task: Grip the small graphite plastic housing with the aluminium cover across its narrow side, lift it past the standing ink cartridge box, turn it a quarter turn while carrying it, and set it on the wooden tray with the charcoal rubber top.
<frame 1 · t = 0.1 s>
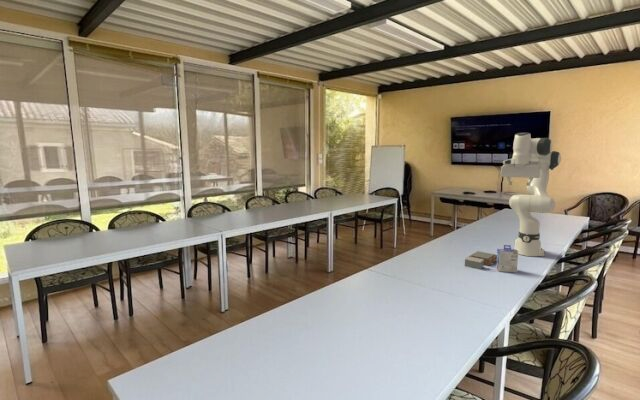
hand: (519, 185, 201), 48 cm above the table, tool pointing down, fingers open, 8 cm apart
wooden tray: (482, 261, 216), on the table
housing: (473, 267, 206), on the table
ink cartridge box: (506, 270, 199), on the table
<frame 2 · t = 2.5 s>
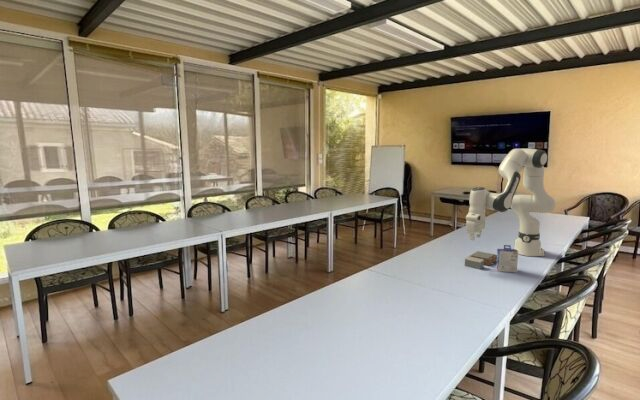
hand: (475, 238, 203), 17 cm above the table, tool pointing down, fingers open, 8 cm apart
nothing on the table moved.
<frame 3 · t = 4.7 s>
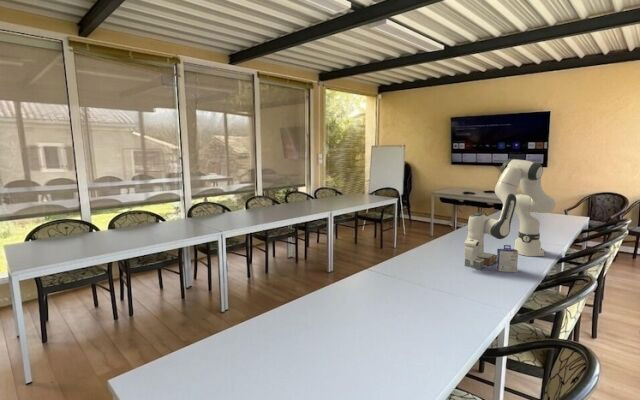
hand: (474, 263, 205), 2 cm above the table, tool pointing down, fingers closed on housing, 5 cm apart
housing: (473, 266, 206), on the table, touching gripper
everything else where it was.
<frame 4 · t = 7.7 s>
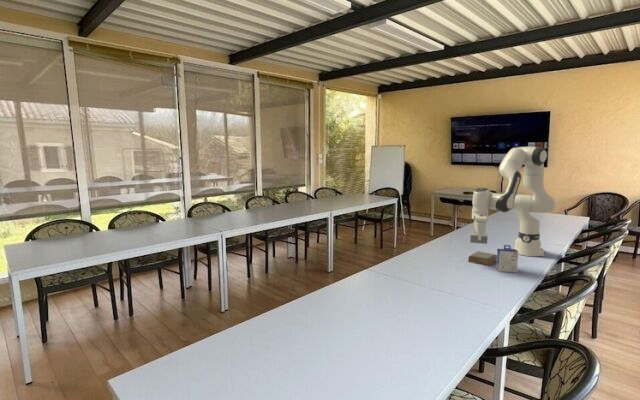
hand: (478, 238, 206), 16 cm above the table, tool pointing down, fingers closed on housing, 5 cm apart
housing: (478, 242, 207), point 14 cm above the table, touching gripper
everything else where it was.
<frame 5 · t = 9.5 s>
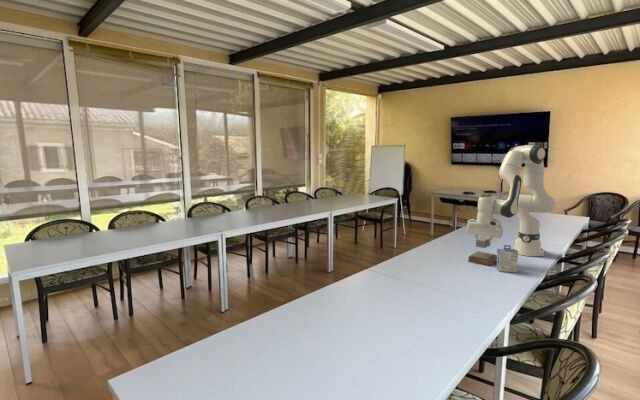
hand: (483, 242, 214), 12 cm above the table, tool pointing down, fingers closed on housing, 5 cm apart
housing: (483, 246, 214), point 10 cm above the table, touching gripper
everything else where it was.
when the fingers open (8 cm above the table, at t = 11.0 s): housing drops 2 cm, resting on wooden tray.
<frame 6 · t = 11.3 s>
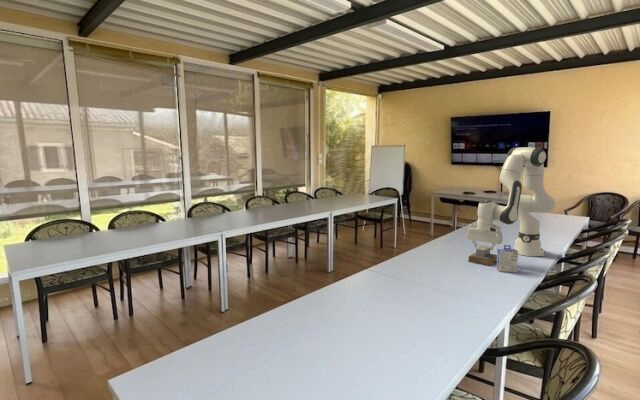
hand: (483, 248, 214), 8 cm above the table, tool pointing down, fingers open, 8 cm apart
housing: (483, 254, 215), point 4 cm above the table, touching wooden tray
everything else where it was.
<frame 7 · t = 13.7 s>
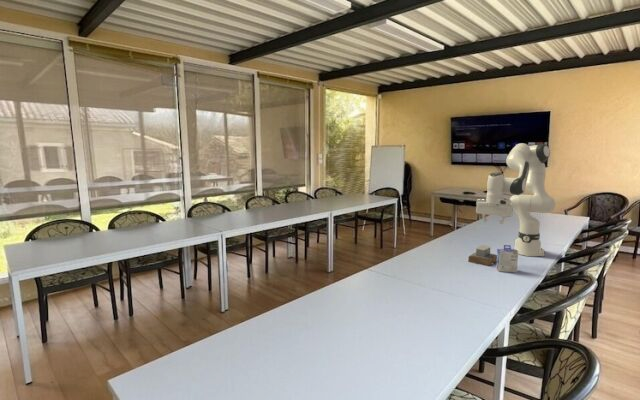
hand: (493, 222, 210), 25 cm above the table, tool pointing down, fingers open, 8 cm apart
nothing on the table moved.
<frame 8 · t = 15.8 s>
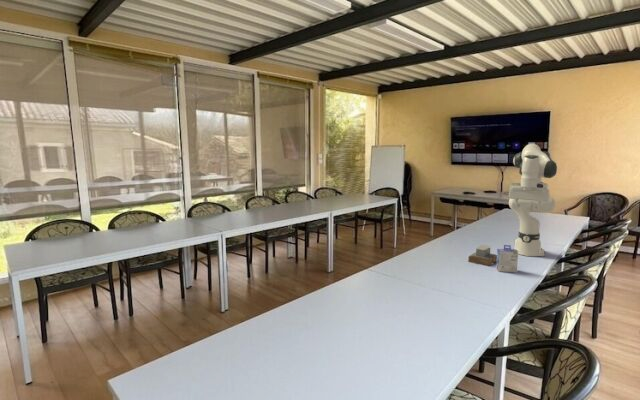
hand: (527, 207, 200), 35 cm above the table, tool pointing down, fingers open, 8 cm apart
nothing on the table moved.
at the end: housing inside the target area on the wooden tray (0.0 cm from its centre), point 4.0 cm above the wooden tray's base; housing tilted 0°; the gripper is holding nothing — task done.
